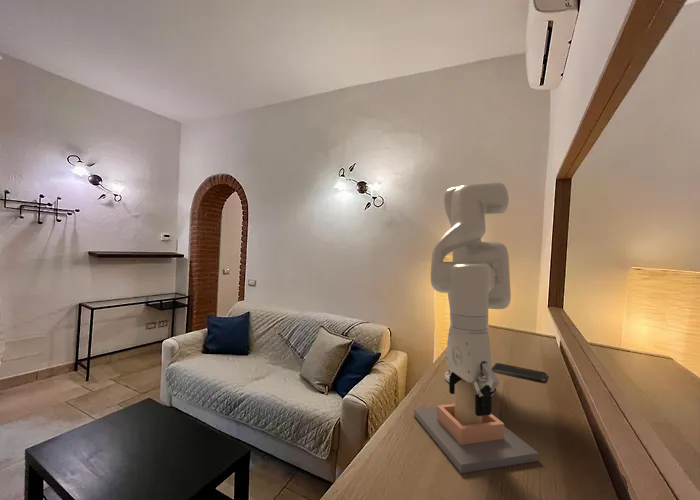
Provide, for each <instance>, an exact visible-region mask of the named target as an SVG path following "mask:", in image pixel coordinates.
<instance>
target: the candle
mask: <svg viewBox="0 0 700 500" xmlns="http://www.w3.org/2000/svg"><path fill="white" fill-rule="evenodd" d="M475 395H477V391H476V388H475V386H474V383H468V382H466V381H465V380H463V379H462V380H460V381H459V382H457V383H456V384H455V394H454V404H455V419H456V420H457V421H458V422H459V423H460V424H461V425H462V426H465V425H473V424H481V423H482V416H477V415H476V414H475Z"/></svg>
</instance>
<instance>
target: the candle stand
mask: <svg viewBox="0 0 700 500" xmlns="http://www.w3.org/2000/svg"><path fill="white" fill-rule="evenodd" d="M413 416H414V417H415V419H416V420H417V421H418V423H419V424H420V425H421V427H423V429H424V430H425V431H426V432H427V434H428V435H429V436H430V437H431V438H432V439H433V441H434V443H436V445H437V446H438V447H439V448H440V450H441V451H442V452H443V453H444V454H445V456H446V457H447V458H448V459H449V460H450V462H451V463H452V464H453V465H454V467H455V468H456V469H457V470H458V472H459V473H460V474H465V473H472V472H478V471H484V470H489V469H490V470H491V469H497V468H504V467H511V466H515V465H523V464H527V463H534V462H539V459H540V458H539V457H540V456H539V455H540V454H539V452H538V451H537V450H536V449H534V448H533V447H532V446H530V445H529V444H528V443H527V442H525V441H524V440H522V439H521V438H520V437H519V436H518V435H516V434H515V433H514V432H513V431H511V430H510V429H509V428H507V427H506V426H505V423H504V422H503V421H501V420H500V419H499V418H498V417H496V416H495V415H494V414H492V413H491V414H490V415H485V416H482V423H481V424H473V425H465V426H462V425H461V424H460V423H459V422H458V421H457V420H456V419H455V403H451V404H450V403H449V404H439V405H437V406H431V407H420V408H414V409H413Z"/></svg>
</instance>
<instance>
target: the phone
mask: <svg viewBox="0 0 700 500" xmlns="http://www.w3.org/2000/svg"><path fill="white" fill-rule="evenodd" d="M492 371H493V372H494V373H495V374H496V373H497V374H501V375H505V376H511V377H514V378H518V379H523V380H529V381H532V382H537V383H545V382H546V380H547V377H548V373H547V372H544V371H540V370H535V369H530V368H526V367H519V366H515V365H510V364H505V363H499V362H496V363H494V365H493V366H492Z"/></svg>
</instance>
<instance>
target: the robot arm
mask: <svg viewBox="0 0 700 500" xmlns="http://www.w3.org/2000/svg"><path fill="white" fill-rule="evenodd" d="M443 201H444V209H445V213H446V216H447V218H448V221H449V223H450V229H448V230H447V232H445V233H444V234H442V236H441V237H440V238H439V239H438V241H437V242H436V244H435V245H434V247H433V250H432V253H431V265H430V266H431V267H430V284H431V286H432V288H433V290H435V291H436V292H439V293H440V294H441V293H443V294H447V298H448V306H449V328H448V329H449V330H448V334H447V341H446V342H447V344H446V351H445V357H446V367H447V368H448V370H447V371H446V372H445V373H444V379H445V380H446V381H447V382H448V383H449V384H448V386H449V394H451V395H455V384H456V383H457V382H459V381H460V380H462V379H463V380H465V381H466V382H468V383H474V386H475V388H476V391H477V395H475V414H476V415H477V416H485V415H490V414H492V397H493V396H494V394H495V392H496V391H497V387H498V385H499V383H500V381H499V378H498V377H497V375H496V373H495V372H493V371H492V367H493V366H492V349H491V342H490V334H489V309H491V310H505V309H506V308H508V307H509V305H510V304H511V296H512V295H511V279H510V278H511V277H510V276H511V275H510V257H509V252H508V249H507V247H506V245H505V244H503V243H501V242H497V241H482V238H483V237H484V236H485V233H486V217H485V215H493V214H494V215H496V214H497V215H498V214H500V215H501V214H504V213H505V212H507V211H506V210H507V209H508V207H509V201H510V200H509V191H508V189H507V186H506V185H505V184H504V183H502V182H488V183H470V184H465V185H457V186H451V187H450V188H448V189H447V190H446V191H445V192H444V196H443ZM450 253H452V261H444V259H445V258H446V257H447V256H448V255H449V254H450Z"/></svg>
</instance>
